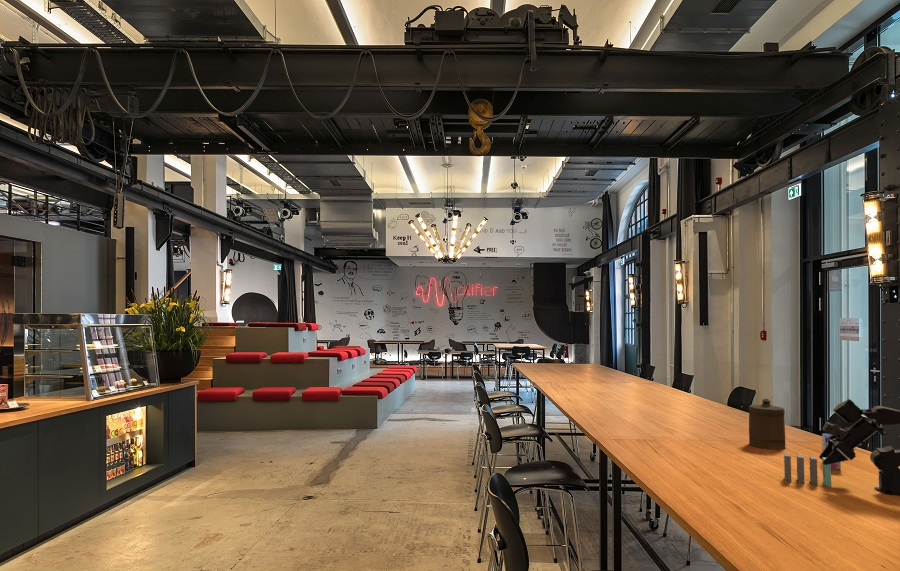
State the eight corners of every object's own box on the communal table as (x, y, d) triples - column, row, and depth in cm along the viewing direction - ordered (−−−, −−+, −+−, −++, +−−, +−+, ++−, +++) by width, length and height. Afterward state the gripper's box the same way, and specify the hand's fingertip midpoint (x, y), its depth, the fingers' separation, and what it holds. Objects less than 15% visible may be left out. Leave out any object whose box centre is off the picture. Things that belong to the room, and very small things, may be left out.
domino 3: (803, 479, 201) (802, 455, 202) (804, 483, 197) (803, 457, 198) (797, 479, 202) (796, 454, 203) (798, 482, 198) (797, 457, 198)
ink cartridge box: (842, 470, 216) (840, 432, 217) (825, 468, 218) (824, 431, 219) (838, 464, 224) (836, 428, 225) (821, 462, 227) (820, 427, 228)
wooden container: (785, 445, 259) (784, 398, 261) (785, 451, 247) (784, 402, 248) (750, 441, 267) (749, 395, 269) (748, 447, 255) (747, 399, 256)
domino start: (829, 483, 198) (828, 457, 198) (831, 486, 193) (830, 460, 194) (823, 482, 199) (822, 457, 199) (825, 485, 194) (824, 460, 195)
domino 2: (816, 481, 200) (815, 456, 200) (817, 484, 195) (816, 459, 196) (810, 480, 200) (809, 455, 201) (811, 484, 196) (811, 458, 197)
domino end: (790, 478, 203) (789, 453, 204) (791, 481, 199) (790, 456, 200) (784, 477, 204) (783, 453, 205) (785, 480, 200) (784, 455, 200)
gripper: (834, 411, 204) (800, 438, 208) (842, 419, 188) (805, 448, 192) (860, 435, 200) (825, 462, 204) (872, 445, 183) (833, 474, 188)
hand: (821, 460), depth 197 cm, fingers open, 9 cm apart
